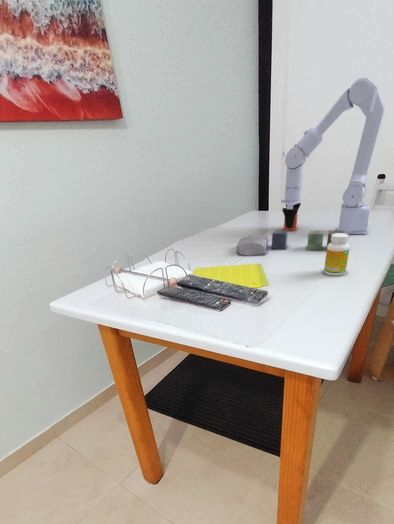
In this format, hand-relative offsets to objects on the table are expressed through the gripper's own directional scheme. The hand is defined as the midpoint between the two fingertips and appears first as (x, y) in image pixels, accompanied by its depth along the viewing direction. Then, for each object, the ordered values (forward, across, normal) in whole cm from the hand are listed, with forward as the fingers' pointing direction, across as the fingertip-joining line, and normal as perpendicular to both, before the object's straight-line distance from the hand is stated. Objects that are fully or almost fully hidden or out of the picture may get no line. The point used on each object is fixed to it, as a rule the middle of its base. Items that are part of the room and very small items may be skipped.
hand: (290, 225), depth 131 cm
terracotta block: (+1, 0, 0) cm, 1 cm away
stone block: (+2, +29, -9) cm, 30 cm away
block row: (+1, +25, +8) cm, 26 cm away
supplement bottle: (+2, +47, +17) cm, 50 cm away
